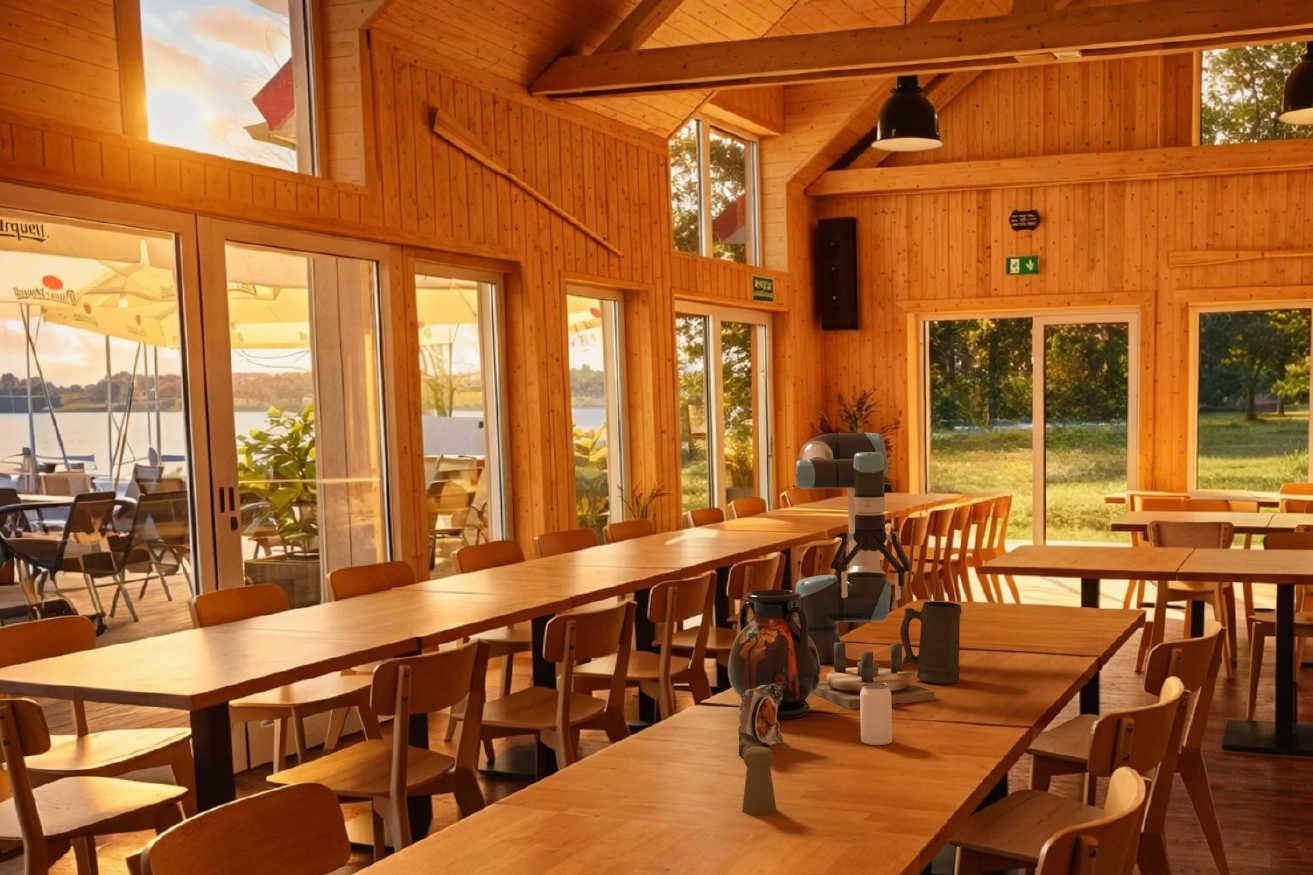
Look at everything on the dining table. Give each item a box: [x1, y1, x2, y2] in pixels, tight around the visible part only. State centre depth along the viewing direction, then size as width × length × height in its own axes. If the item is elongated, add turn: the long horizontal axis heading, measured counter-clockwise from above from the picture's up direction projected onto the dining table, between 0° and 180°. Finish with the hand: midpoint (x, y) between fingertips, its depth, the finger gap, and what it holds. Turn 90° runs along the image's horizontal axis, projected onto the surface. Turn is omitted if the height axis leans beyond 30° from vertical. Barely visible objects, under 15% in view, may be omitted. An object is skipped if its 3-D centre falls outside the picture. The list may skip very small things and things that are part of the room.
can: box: [859, 683, 893, 747], centre depth 272 cm, size 6×6×12 cm
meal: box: [738, 681, 788, 759], centre depth 268 cm, size 15×4×13 cm, turn 149°
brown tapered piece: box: [741, 746, 777, 817], centre depth 227 cm, size 6×6×11 cm
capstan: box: [826, 641, 917, 692], centre depth 318 cm, size 20×20×9 cm
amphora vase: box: [727, 589, 822, 721], centre depth 301 cm, size 22×22×28 cm
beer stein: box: [900, 601, 963, 685], centre depth 333 cm, size 15×11×20 cm
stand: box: [812, 679, 935, 710], centre depth 318 cm, size 23×23×2 cm
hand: (871, 598), depth 326 cm, fingers open, 13 cm apart
